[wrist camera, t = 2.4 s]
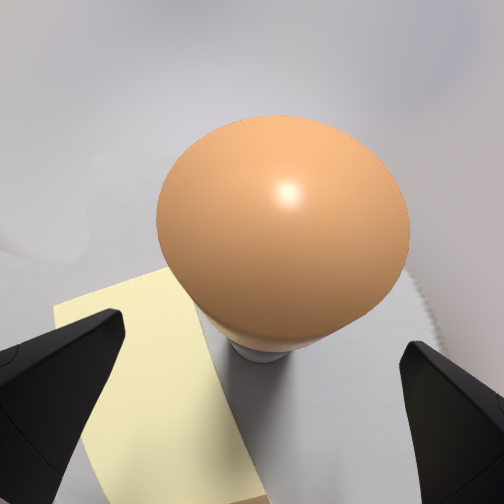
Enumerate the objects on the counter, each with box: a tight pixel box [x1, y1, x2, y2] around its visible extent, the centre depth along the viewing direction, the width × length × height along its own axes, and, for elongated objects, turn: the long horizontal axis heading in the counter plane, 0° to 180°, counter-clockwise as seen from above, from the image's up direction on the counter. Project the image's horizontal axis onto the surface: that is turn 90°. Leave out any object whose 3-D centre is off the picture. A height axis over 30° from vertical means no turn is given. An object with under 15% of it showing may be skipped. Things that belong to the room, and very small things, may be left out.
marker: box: [156, 116, 410, 363], centre depth 11 cm, size 4×4×14 cm
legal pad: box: [53, 267, 272, 504], centre depth 14 cm, size 18×11×1 cm, turn 20°
